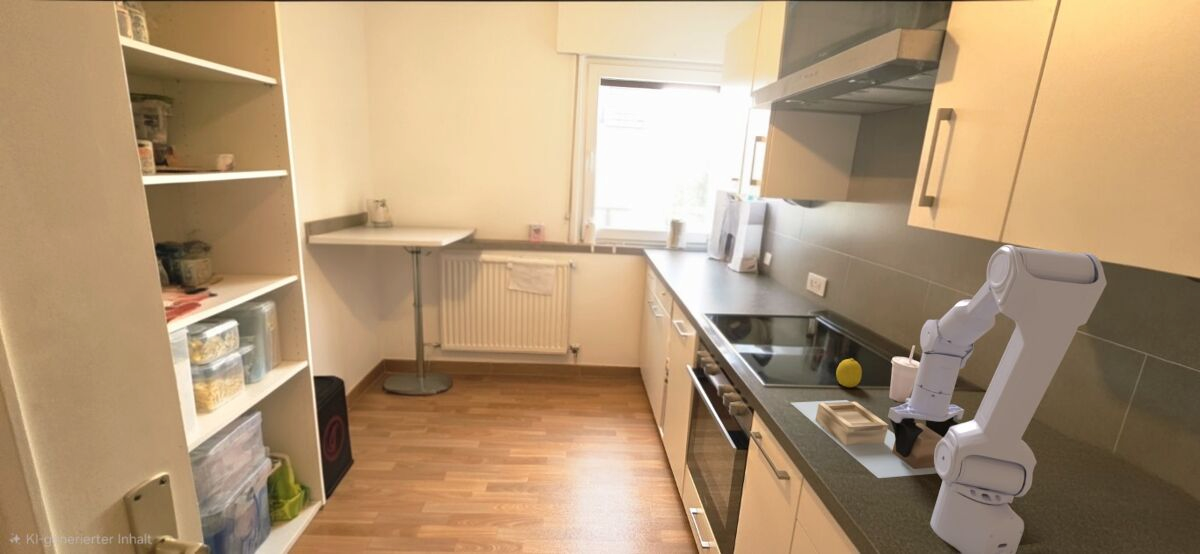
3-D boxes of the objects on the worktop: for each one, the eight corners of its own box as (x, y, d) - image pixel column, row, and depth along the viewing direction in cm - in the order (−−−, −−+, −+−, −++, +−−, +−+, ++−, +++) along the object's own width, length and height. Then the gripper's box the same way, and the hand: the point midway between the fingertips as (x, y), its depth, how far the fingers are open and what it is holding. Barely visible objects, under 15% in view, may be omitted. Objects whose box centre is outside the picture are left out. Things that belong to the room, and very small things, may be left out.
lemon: (861, 395, 115) (868, 364, 113) (836, 391, 116) (843, 361, 114) (853, 385, 120) (860, 356, 118) (830, 381, 121) (837, 352, 119)
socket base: (884, 442, 93) (888, 424, 92) (845, 445, 91) (849, 427, 90) (851, 418, 102) (855, 401, 101) (815, 420, 100) (818, 403, 99)
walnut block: (936, 467, 87) (944, 438, 85) (913, 469, 86) (921, 439, 84) (913, 450, 91) (921, 423, 90) (891, 452, 90) (899, 424, 89)
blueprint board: (947, 475, 86) (948, 472, 86) (877, 482, 82) (878, 478, 82) (846, 403, 110) (847, 400, 110) (789, 405, 107) (790, 402, 107)
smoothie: (897, 405, 111) (911, 350, 108) (877, 392, 117) (889, 339, 114) (920, 404, 112) (935, 350, 109) (898, 391, 118) (912, 339, 115)
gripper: (946, 375, 90) (928, 438, 94) (882, 377, 87) (866, 442, 90) (982, 393, 84) (962, 460, 87) (914, 396, 80) (896, 466, 84)
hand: (915, 453), depth 88 cm, fingers open, 6 cm apart
